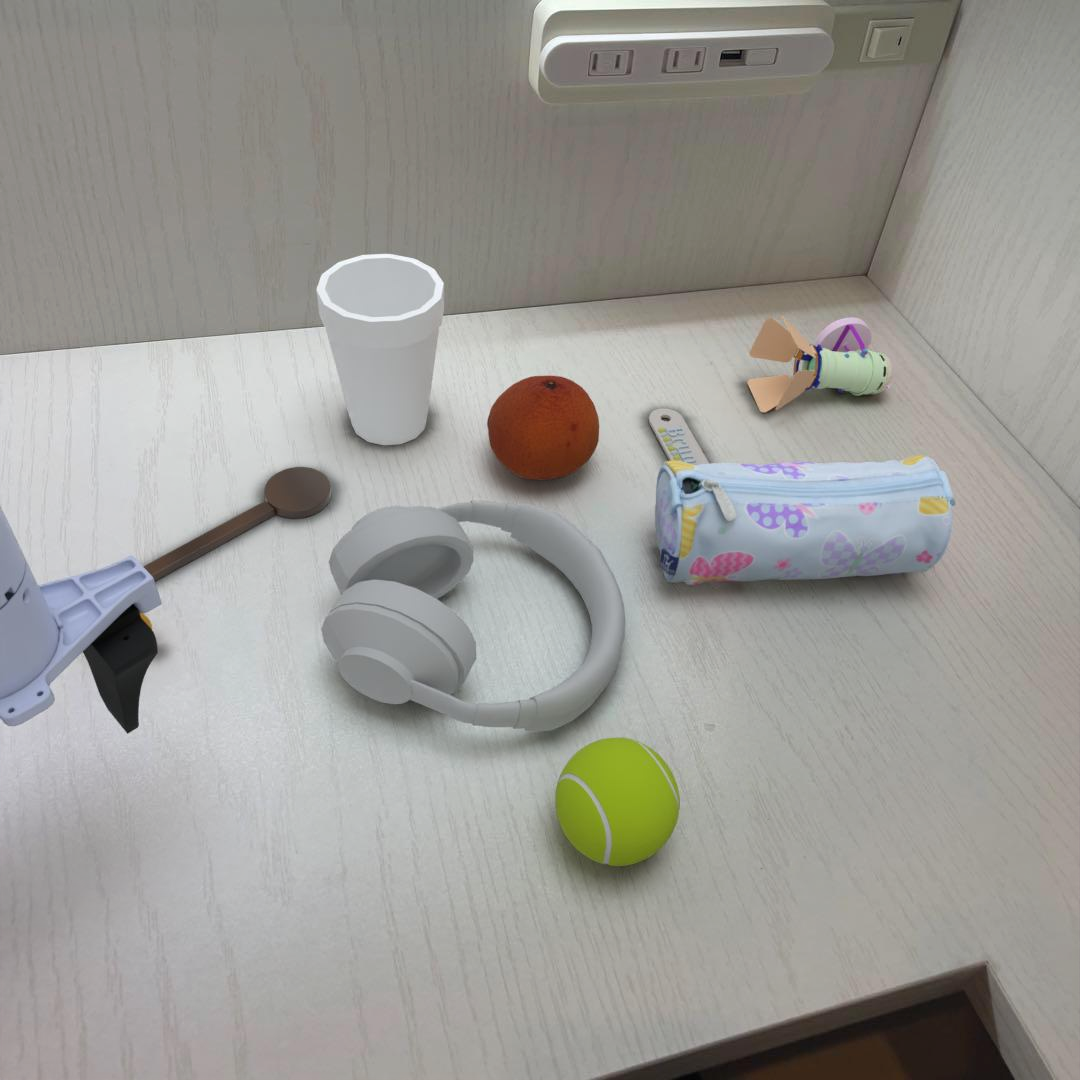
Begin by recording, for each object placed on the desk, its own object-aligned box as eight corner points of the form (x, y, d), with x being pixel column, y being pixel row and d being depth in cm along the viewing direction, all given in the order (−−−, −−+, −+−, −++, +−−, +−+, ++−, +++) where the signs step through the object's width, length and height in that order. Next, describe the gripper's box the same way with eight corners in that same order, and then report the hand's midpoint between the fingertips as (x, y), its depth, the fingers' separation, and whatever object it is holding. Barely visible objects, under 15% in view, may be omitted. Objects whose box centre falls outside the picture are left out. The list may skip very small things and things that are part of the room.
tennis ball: (623, 759, 61) (638, 695, 56) (692, 849, 57) (715, 789, 52) (529, 810, 58) (536, 748, 53) (595, 909, 54) (609, 852, 49)
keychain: (644, 407, 84) (676, 403, 85) (643, 413, 85) (675, 409, 86) (689, 489, 78) (723, 483, 78) (687, 494, 78) (722, 489, 79)
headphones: (309, 750, 59) (624, 765, 63) (314, 675, 54) (659, 696, 57) (333, 533, 72) (594, 556, 76) (339, 454, 66) (620, 484, 70)
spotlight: (766, 425, 85) (803, 358, 80) (737, 362, 90) (771, 296, 85) (882, 432, 89) (926, 369, 83) (848, 372, 94) (887, 308, 88)
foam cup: (309, 420, 82) (290, 284, 72) (390, 373, 87) (382, 241, 77) (388, 473, 78) (378, 337, 68) (467, 421, 83) (469, 288, 73)
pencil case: (653, 605, 70) (675, 512, 63) (636, 520, 76) (654, 426, 69) (931, 600, 72) (981, 509, 65) (893, 517, 78) (935, 425, 71)
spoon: (109, 630, 65) (106, 622, 65) (73, 588, 68) (70, 581, 67) (344, 497, 76) (343, 490, 75) (306, 465, 78) (304, 457, 77)
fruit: (568, 418, 84) (577, 341, 78) (609, 486, 78) (621, 408, 73) (471, 437, 81) (472, 358, 76) (506, 508, 76) (510, 429, 70)
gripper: (-223, 757, 33) (-66, 921, 42) (167, 547, 40) (224, 728, 50) (-289, 634, 36) (-129, 813, 46) (84, 462, 43) (153, 647, 53)
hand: (51, 762), depth 48 cm, fingers open, 7 cm apart
